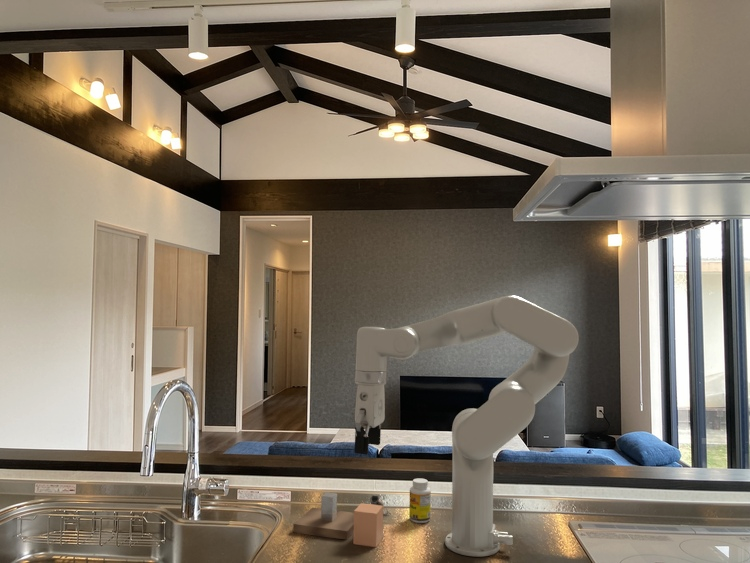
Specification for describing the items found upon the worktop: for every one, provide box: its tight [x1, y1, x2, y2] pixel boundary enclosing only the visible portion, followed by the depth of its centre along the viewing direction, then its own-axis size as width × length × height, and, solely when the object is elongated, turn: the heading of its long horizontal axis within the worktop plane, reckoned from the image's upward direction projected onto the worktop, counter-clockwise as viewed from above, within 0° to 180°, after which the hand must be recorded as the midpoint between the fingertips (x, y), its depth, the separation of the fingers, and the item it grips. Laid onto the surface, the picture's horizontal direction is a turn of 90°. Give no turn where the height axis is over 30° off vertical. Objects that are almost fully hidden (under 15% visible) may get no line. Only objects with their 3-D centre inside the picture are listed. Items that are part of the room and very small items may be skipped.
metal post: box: [320, 491, 338, 521], centre depth 140 cm, size 3×3×6 cm
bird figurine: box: [369, 495, 391, 517], centre depth 147 cm, size 5×5×6 cm
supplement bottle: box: [408, 478, 432, 524], centre depth 145 cm, size 6×6×10 cm
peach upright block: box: [352, 502, 384, 548], centre depth 132 cm, size 6×6×8 cm
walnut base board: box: [292, 507, 354, 540], centre depth 140 cm, size 14×12×2 cm
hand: (367, 448), depth 134 cm, fingers open, 9 cm apart
